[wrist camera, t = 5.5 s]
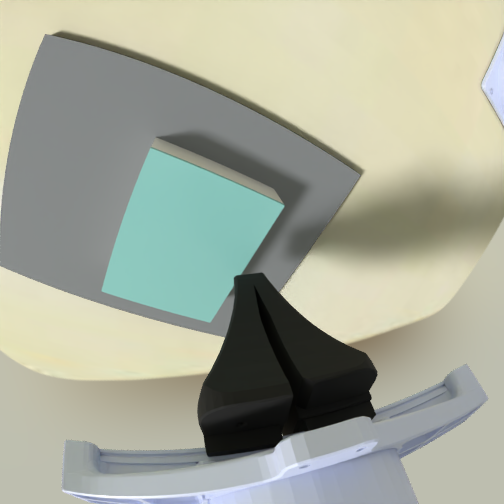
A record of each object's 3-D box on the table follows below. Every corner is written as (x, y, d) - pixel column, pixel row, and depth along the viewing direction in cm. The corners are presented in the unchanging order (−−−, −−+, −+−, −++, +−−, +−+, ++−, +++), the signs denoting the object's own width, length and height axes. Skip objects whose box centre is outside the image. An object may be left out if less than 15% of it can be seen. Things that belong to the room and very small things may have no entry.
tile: (284, 205, 14) (150, 147, 11) (210, 322, 17) (101, 291, 14) (273, 188, 15) (155, 137, 12) (207, 299, 18) (107, 268, 16)
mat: (355, 171, 16) (360, 175, 16) (240, 334, 22) (241, 340, 21) (50, 35, 9) (45, 34, 8) (3, 260, 14) (-1, 265, 14)
